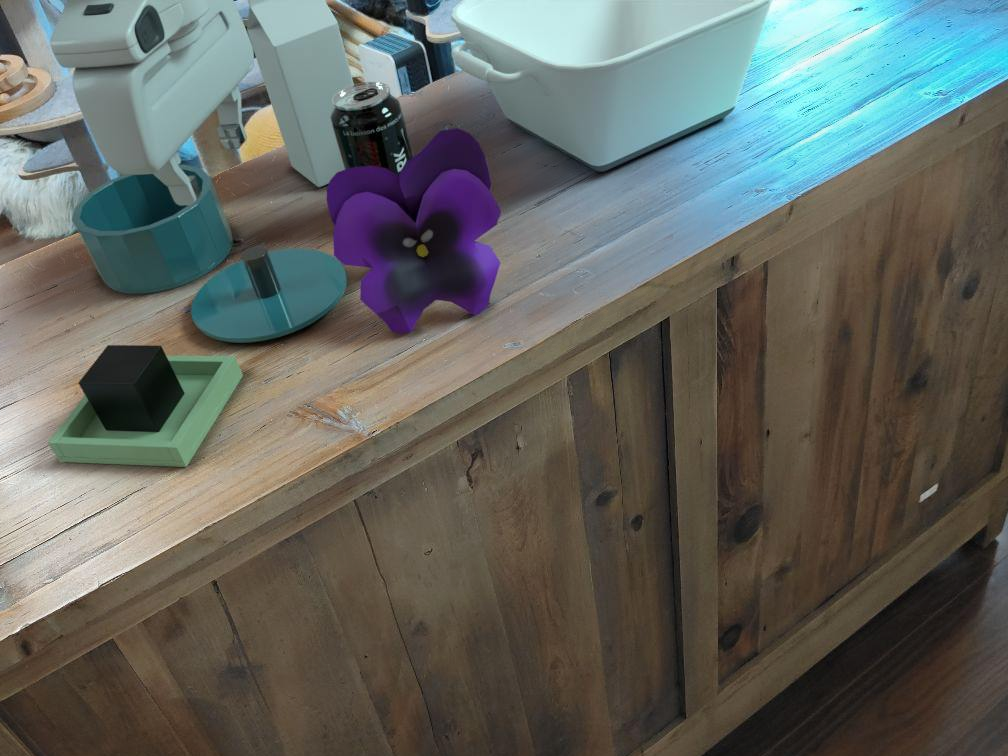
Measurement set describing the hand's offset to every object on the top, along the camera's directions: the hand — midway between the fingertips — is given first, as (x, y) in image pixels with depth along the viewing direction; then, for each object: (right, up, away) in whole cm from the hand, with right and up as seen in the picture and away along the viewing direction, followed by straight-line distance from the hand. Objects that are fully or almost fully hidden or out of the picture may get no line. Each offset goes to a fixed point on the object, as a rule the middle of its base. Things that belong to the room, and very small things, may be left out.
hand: (213, 172), depth 84 cm
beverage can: (+12, +3, +20) cm, 23 cm away
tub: (+36, +15, +26) cm, 47 cm away
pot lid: (+2, -8, +10) cm, 13 cm away
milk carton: (+4, +11, +28) cm, 31 cm away
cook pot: (-11, -2, +19) cm, 22 cm away
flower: (+17, -8, +9) cm, 21 cm away
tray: (-5, -20, 0) cm, 21 cm away
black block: (-6, -20, 0) cm, 21 cm away
